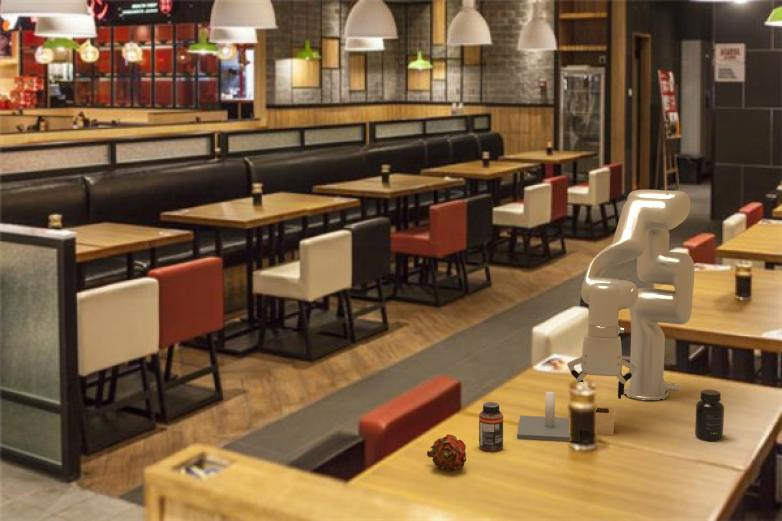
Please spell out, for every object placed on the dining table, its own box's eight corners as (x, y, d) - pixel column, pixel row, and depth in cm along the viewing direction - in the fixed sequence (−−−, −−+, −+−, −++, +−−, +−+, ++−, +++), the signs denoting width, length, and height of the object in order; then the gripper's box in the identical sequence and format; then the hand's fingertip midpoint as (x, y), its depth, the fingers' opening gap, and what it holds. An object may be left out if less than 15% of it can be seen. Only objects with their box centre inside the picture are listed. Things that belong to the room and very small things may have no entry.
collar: (612, 427, 265) (613, 407, 264) (613, 435, 258) (614, 414, 257) (587, 426, 266) (587, 406, 265) (587, 434, 259) (588, 413, 259)
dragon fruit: (452, 484, 230) (439, 473, 241) (481, 460, 231) (465, 450, 243) (430, 456, 228) (417, 446, 240) (458, 432, 230) (444, 423, 242)
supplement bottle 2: (690, 433, 259) (692, 388, 258) (716, 432, 260) (718, 387, 258) (700, 442, 253) (702, 396, 251) (727, 441, 253) (729, 395, 251)
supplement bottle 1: (486, 442, 253) (486, 399, 252) (507, 447, 250) (508, 403, 248) (474, 449, 248) (474, 405, 247) (495, 454, 245) (496, 409, 243)
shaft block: (580, 422, 269) (581, 385, 267) (581, 442, 253) (582, 403, 252) (520, 419, 271) (520, 383, 270) (517, 438, 256) (517, 400, 254)
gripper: (636, 330, 260) (633, 394, 262) (568, 327, 263) (566, 391, 265) (638, 335, 253) (635, 402, 255) (568, 332, 256) (566, 398, 258)
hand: (600, 396), depth 260 cm, fingers open, 9 cm apart
